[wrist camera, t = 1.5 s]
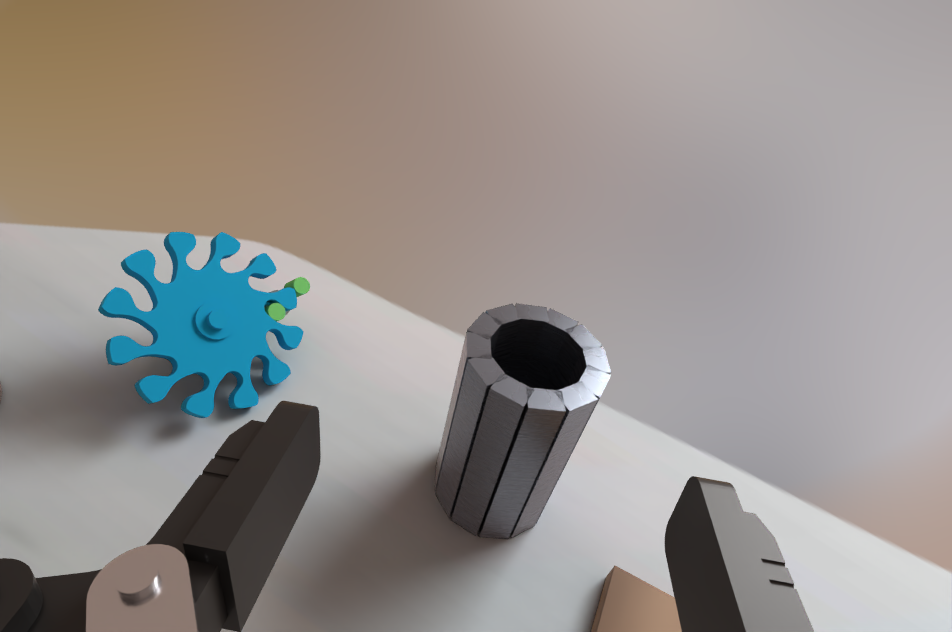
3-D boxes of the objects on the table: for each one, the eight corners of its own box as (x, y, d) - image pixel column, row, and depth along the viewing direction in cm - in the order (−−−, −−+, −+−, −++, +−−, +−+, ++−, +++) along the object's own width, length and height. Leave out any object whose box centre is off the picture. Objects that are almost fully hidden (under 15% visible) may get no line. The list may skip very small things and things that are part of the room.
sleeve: (472, 558, 25) (520, 431, 19) (415, 459, 29) (440, 322, 22) (568, 507, 28) (638, 382, 22) (506, 422, 32) (551, 293, 25)
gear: (154, 452, 25) (68, 246, 24) (122, 452, 29) (47, 276, 28) (346, 366, 33) (287, 209, 32) (300, 376, 37) (246, 237, 36)
